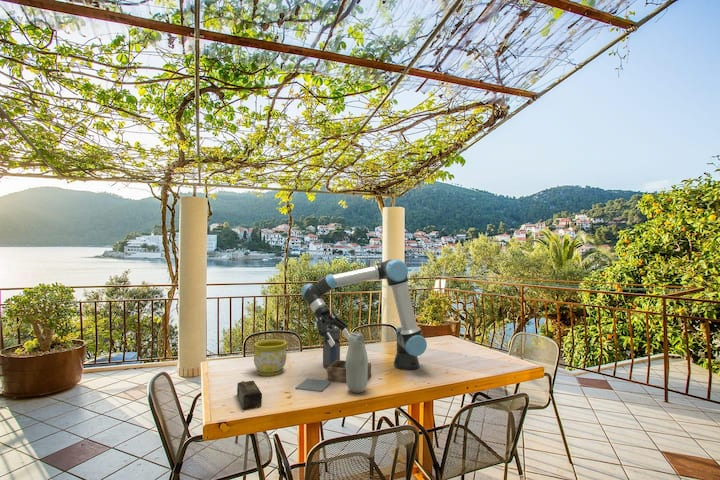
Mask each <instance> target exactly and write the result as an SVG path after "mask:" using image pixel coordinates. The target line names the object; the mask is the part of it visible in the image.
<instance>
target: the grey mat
mask: <svg viewBox="0 0 720 480" xmlns="http://www.w3.org/2000/svg"><path fill="white" fill-rule="evenodd" d="M332 383H333V381H328V380H327V379H318V378H317V379H316V378H306V379H304V380H303V381H302V382H300V383H299V384H298V385H297V386H296V387H295V389H296V390H302V391H311V392H312V391H313V392H320V393H322V392H323V391H325V390H326V389H327V388H328V387H329V386H330V385H331V384H332Z"/></svg>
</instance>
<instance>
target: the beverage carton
mask: <svg viewBox="0 0 720 480" xmlns="http://www.w3.org/2000/svg"><path fill="white" fill-rule="evenodd" d="M236 389H237V390H236V392H237V393H236V394H237V398H238V401H239V402H240V405H241V407H242V409H243V411H244V409H245V410H249V408H251V409H256V408H255V407H257V408H261V407H262V404H263V403H262V402H263V401H262V400H263V393H262V391H261V390H260V388H259V387H258V385H257V383H256V382H255V380H249V381H244V380H242V381H240V382H237V388H236ZM260 406H261V407H260Z"/></svg>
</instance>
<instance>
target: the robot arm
mask: <svg viewBox="0 0 720 480" xmlns="http://www.w3.org/2000/svg"><path fill="white" fill-rule="evenodd" d="M408 274H409V268H408V266H407V265H406V263H405V262H404V261H403V260H400V259H387V260H385V261H382V262H378V263H374V264H373V266H369V267H363V268H359V269H354V270H349V271H345V272H340V273H335V274H332V273H329V274H327V275H324V276H321V277H319V278H318V281H317V282H316V283H315V284H313V283H307V284H305V285H303V286H302V287H301V289H300V293H301V295H302V297H303V299H304V300H305V301H306V303H307V305H308V306H309V308H310V309H311V311H312V312H313V313H314V316H315V317H316V318H315V319H314V320H315V323H316V327H317V333H318V335H319V336H321V337H322V338H323V336H324V337H325V339H326V340H327V341H328V343H329V344H330V346H331V347H332V346H333V345H334V344H335V342H334V340H333V339H332V337H331V336H330V334H329V333H328V332H327V328H328V324H331V325H334V327H336V328H337V329H340V331H341V332H342V334H343V336H344V337H345V338H346V340H347V342H349V336H350V335H351V333H350V332H349V330H348V329H347V328H348V327H349V326H348V324H347V323H345V322H344V320H342V319H341V318H340V317H338V315H337V314H335V313H333V314H331V313H330V311H331V309H330V308H329V307H328V306H327V304H326V302H325V301H324V299H322V297H323V296H324V295H326V294H327V293H329V292H330V291H331V290H333V289H335V288H338V287H343V286H349V285H353V284H358V283H363V282H367V281H372V280H377V281H379V280H386V282H387V284H388V285H387V286H388V287H389V288H391V291H392V295H393V298H394V302H395V306H396V310H397V314H398V318H399V322H400V326H399V327H397V328H396V332H395V333H396V353H395V357H394V360H393V367H394V368H395V369H399V370H403V371H404V370H406V371H407V370H408V371H409V370H410V371H411V370H412V371H414V370H417V369H419V368H420V361H419V358H418V357H419V356H422V355H424V353H425V351H426V350H427V347H428V346H427V343H428V342H427V340H426V337H424V336H423V333H422V329H421V327H420V326H418V325H417V321H416V316H415V312H414V309H413V304H412V301H411V297H410V293H409V289H408V288H409V287H408V282H409V278H408Z"/></svg>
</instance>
